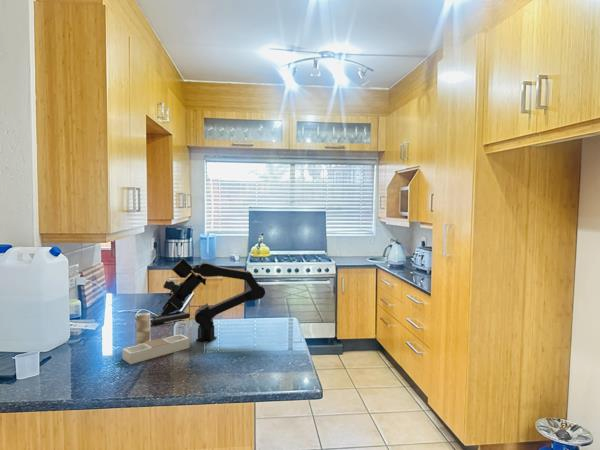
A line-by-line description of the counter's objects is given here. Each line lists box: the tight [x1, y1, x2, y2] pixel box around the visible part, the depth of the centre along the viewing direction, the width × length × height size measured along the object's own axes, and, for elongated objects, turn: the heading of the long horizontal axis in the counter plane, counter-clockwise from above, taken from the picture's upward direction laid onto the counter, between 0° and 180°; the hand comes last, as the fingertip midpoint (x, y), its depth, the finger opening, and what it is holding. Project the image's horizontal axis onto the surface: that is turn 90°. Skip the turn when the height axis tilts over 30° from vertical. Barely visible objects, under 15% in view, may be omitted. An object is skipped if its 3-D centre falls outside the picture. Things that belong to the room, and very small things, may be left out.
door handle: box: [150, 310, 191, 326], centre depth 204 cm, size 3×20×16 cm
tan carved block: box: [135, 312, 152, 345], centre depth 166 cm, size 5×4×13 cm
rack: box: [121, 333, 190, 365], centre depth 157 cm, size 24×7×4 cm, turn 136°
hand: (162, 312), depth 168 cm, fingers open, 9 cm apart
